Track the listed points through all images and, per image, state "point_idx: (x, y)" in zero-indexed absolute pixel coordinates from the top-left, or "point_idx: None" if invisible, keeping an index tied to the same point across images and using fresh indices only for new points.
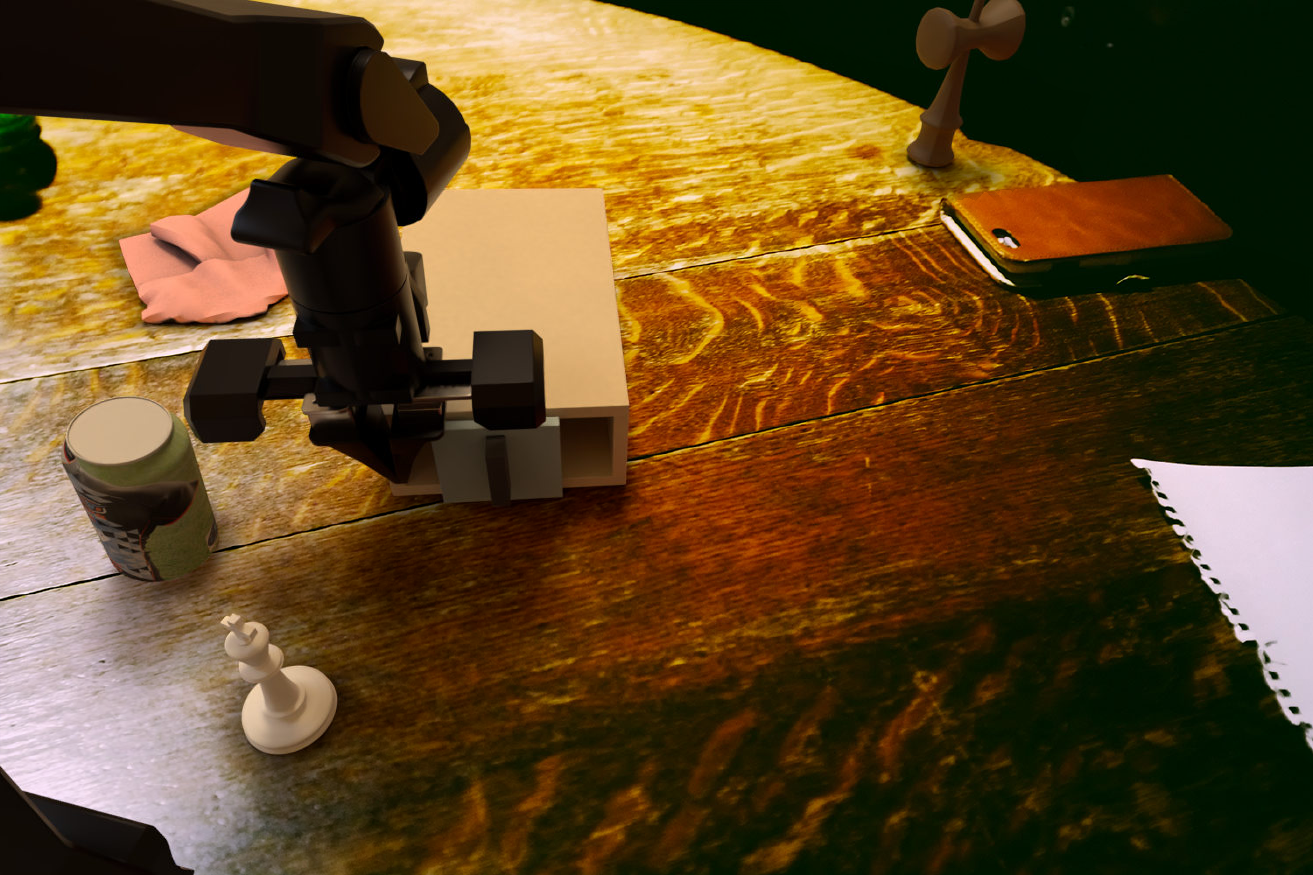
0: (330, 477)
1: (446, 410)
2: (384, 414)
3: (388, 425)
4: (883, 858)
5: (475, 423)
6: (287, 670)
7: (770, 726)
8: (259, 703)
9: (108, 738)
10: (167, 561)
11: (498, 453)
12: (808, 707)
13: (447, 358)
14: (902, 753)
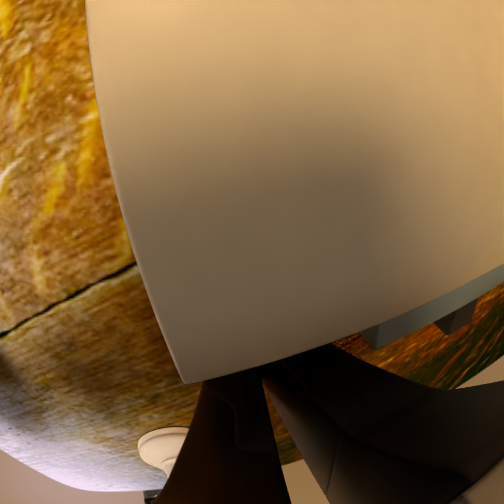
0: (40, 193)
1: (438, 295)
2: (271, 426)
3: (263, 392)
4: (473, 376)
5: (468, 289)
6: (161, 444)
7: (469, 348)
8: (157, 463)
9: (63, 461)
10: None
11: (466, 322)
12: (486, 331)
13: (437, 7)
14: (500, 335)
